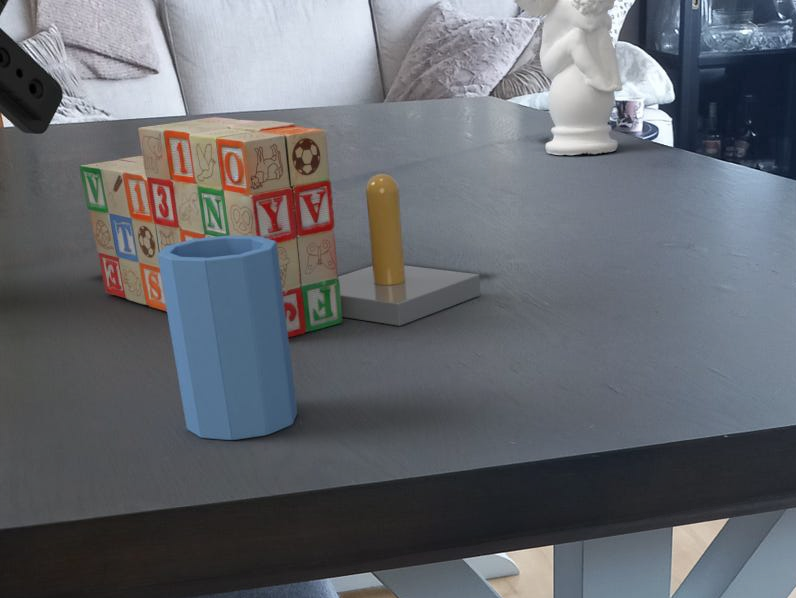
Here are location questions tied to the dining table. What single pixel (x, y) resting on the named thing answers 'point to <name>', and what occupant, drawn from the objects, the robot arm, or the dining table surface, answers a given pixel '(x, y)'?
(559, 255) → the dining table surface
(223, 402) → the sleeve
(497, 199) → the dining table surface
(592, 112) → the cherub figurine
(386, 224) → the peg stand
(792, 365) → the dining table surface
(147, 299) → the stack of blocks
